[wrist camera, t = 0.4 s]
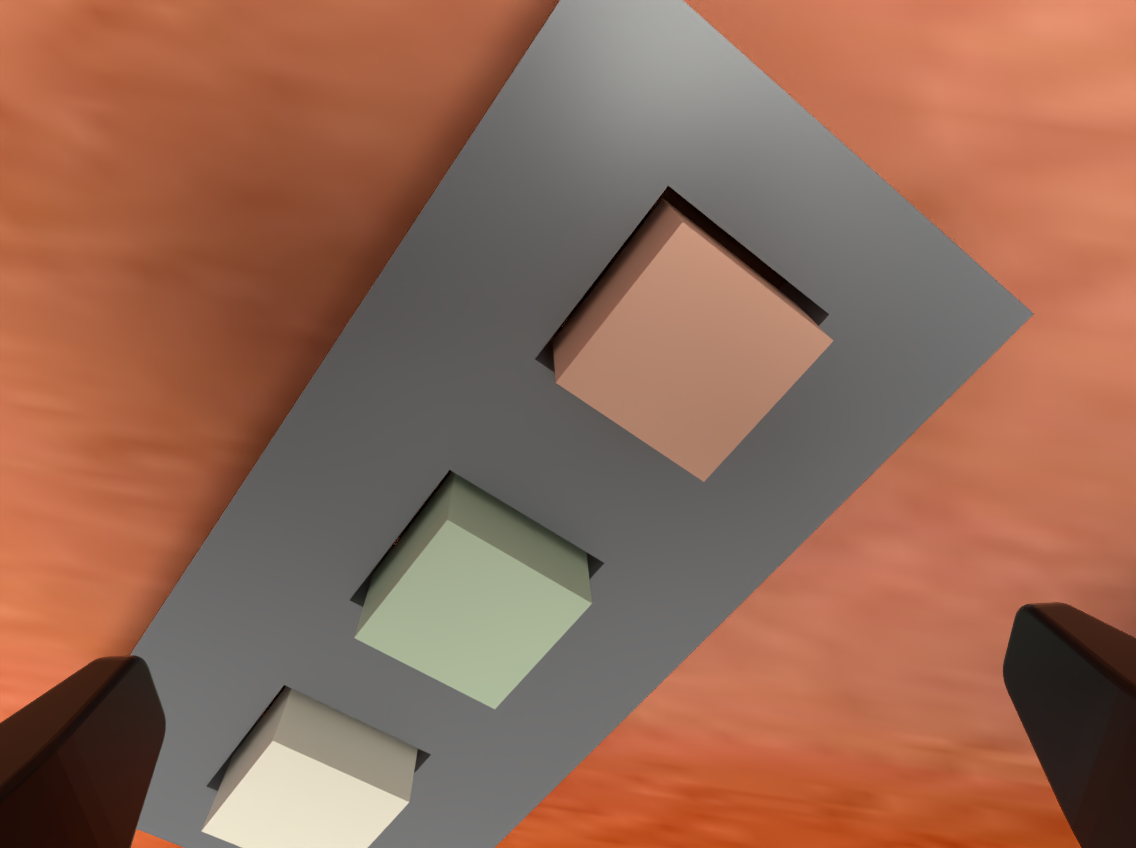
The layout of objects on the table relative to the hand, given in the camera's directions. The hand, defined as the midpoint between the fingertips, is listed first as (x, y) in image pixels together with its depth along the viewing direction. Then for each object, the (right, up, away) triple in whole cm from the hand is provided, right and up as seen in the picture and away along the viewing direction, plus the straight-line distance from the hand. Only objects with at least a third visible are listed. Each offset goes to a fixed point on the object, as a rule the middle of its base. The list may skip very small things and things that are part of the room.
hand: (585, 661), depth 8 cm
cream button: (-7, -7, +15) cm, 18 cm away
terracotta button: (+2, +5, +10) cm, 11 cm away
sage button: (-3, -1, +13) cm, 13 cm away
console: (-3, 0, +14) cm, 15 cm away
